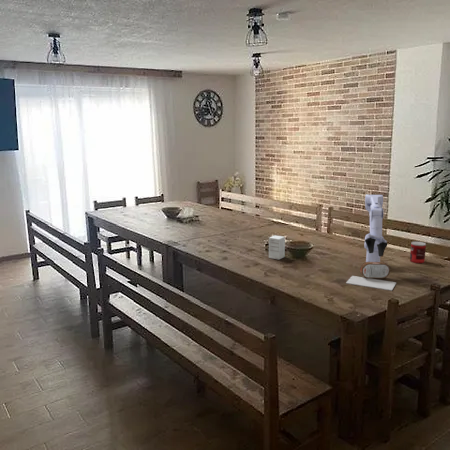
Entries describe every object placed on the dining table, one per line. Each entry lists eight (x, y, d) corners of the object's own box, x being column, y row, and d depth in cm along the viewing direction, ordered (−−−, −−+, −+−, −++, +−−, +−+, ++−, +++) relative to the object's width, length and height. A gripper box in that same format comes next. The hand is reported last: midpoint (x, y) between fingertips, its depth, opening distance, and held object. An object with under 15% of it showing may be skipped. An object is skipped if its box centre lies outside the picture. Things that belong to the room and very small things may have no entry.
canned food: (413, 258, 266) (414, 240, 263) (426, 261, 260) (428, 243, 258) (407, 261, 261) (408, 243, 258) (421, 264, 255) (422, 245, 253)
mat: (352, 276, 236) (352, 275, 236) (396, 283, 225) (396, 282, 225) (345, 283, 226) (345, 282, 226) (391, 290, 215) (391, 289, 215)
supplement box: (274, 255, 277) (274, 235, 274) (285, 256, 273) (285, 236, 270) (268, 257, 271) (268, 237, 268) (279, 259, 267) (279, 239, 264)
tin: (387, 277, 234) (389, 261, 233) (390, 279, 231) (391, 263, 230) (359, 277, 233) (360, 261, 232) (361, 278, 230) (362, 262, 229)
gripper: (373, 224, 232) (373, 250, 228) (391, 231, 239) (391, 256, 235) (362, 227, 238) (362, 252, 234) (380, 234, 245) (380, 258, 241)
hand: (376, 254), depth 235 cm, fingers open, 7 cm apart
